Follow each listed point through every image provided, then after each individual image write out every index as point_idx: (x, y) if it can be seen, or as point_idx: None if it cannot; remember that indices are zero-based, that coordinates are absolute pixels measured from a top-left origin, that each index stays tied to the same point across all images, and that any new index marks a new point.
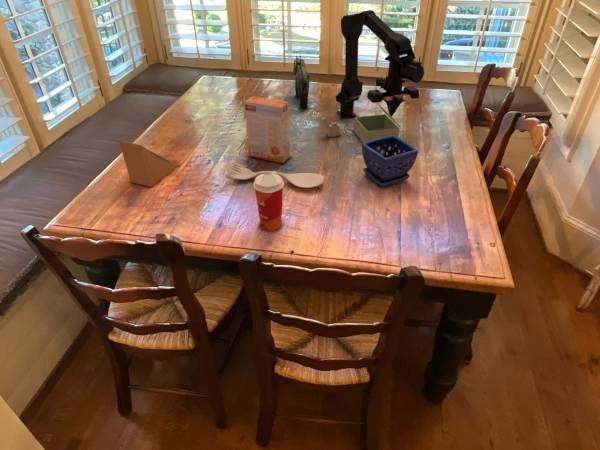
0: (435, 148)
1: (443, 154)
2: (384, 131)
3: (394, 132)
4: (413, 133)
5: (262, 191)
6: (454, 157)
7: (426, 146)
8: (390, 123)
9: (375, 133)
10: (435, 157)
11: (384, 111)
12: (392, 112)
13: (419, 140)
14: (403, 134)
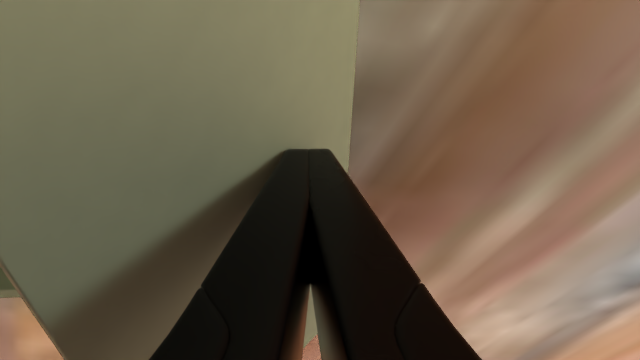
0: (559, 274)
1: (540, 326)
2: None
3: None
4: (635, 12)
5: None
6: (568, 351)
7: (523, 246)
8: None
9: None
10: (467, 340)
11: (142, 195)
12: (311, 290)
13: (554, 162)
14: (503, 8)
